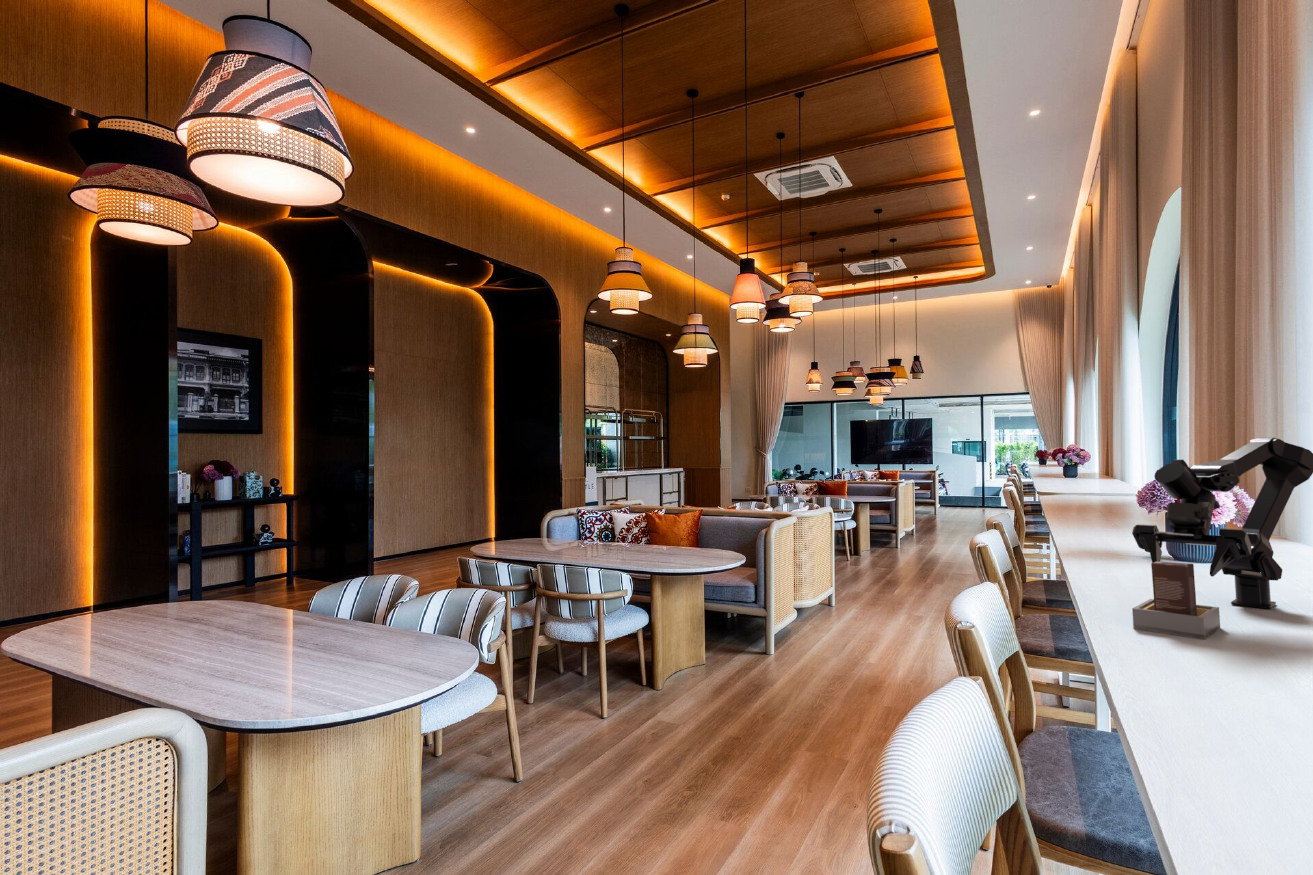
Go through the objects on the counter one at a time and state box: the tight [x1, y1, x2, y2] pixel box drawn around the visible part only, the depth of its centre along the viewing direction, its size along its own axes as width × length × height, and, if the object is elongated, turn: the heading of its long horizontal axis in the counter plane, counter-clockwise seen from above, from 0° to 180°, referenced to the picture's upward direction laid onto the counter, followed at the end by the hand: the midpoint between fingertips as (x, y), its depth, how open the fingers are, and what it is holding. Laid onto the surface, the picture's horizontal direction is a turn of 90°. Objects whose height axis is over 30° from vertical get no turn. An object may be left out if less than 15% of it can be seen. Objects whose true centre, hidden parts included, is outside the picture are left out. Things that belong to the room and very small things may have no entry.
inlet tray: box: [1132, 598, 1221, 640], centre depth 131 cm, size 11×11×4 cm
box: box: [1150, 560, 1197, 616], centre depth 131 cm, size 6×4×12 cm
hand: (1182, 572), depth 134 cm, fingers open, 9 cm apart
